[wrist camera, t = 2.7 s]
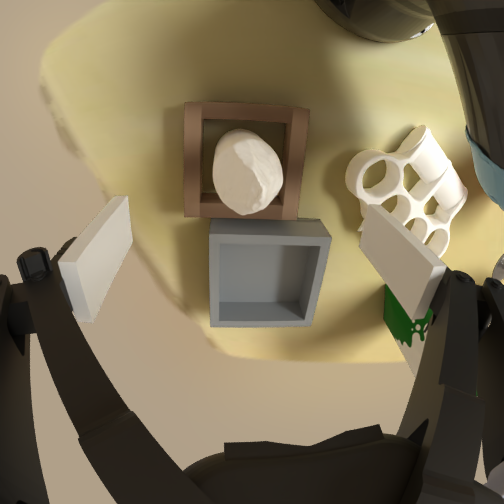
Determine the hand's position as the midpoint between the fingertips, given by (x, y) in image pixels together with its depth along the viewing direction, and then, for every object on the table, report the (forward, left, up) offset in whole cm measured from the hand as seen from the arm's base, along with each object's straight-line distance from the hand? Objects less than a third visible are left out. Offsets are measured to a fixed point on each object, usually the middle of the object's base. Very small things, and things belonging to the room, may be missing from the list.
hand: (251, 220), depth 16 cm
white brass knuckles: (+3, +20, -16) cm, 26 cm away
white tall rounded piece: (0, 0, -16) cm, 16 cm away
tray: (+12, +3, -16) cm, 20 cm away
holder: (0, 0, -16) cm, 16 cm away
